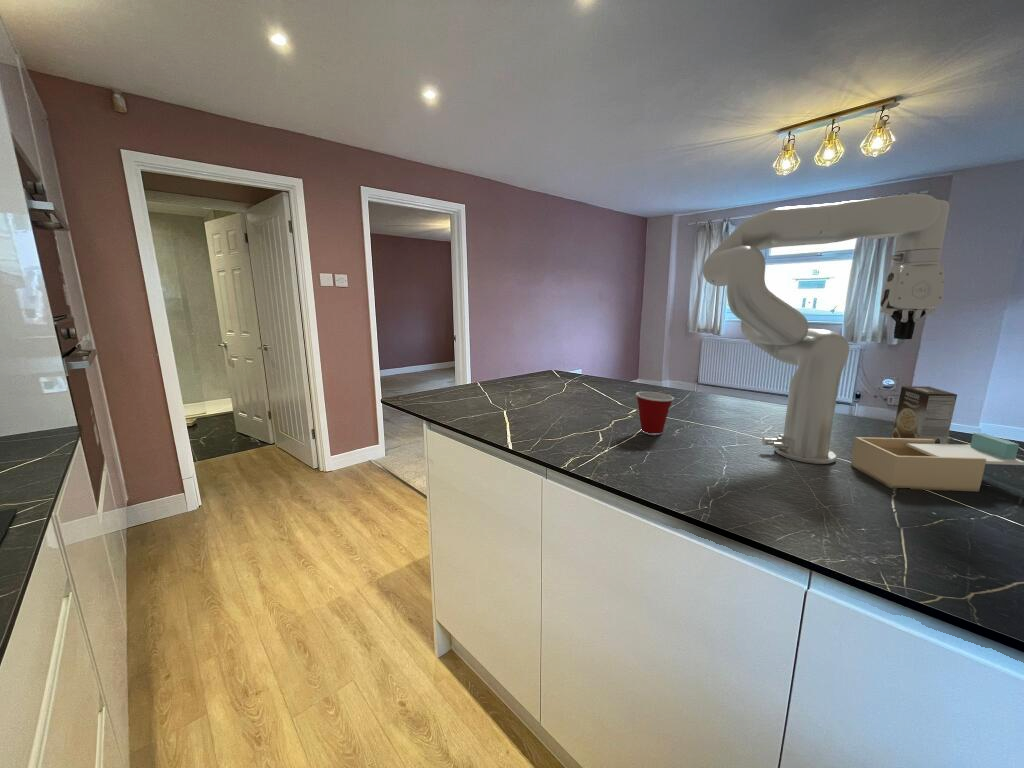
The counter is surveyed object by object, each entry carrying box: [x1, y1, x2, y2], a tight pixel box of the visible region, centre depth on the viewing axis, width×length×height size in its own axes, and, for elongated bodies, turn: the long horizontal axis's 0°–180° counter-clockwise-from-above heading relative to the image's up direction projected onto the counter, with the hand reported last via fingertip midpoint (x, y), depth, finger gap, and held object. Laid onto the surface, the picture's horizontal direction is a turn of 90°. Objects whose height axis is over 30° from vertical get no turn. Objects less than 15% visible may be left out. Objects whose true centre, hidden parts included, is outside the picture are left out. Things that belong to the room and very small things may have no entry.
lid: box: [906, 432, 1024, 466], centre depth 85 cm, size 14×10×4 cm
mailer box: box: [850, 436, 986, 492], centre depth 87 cm, size 16×12×7 cm
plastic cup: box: [635, 391, 675, 433], centre depth 119 cm, size 11×11×12 cm
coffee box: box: [891, 385, 958, 444], centre depth 102 cm, size 9×6×16 cm
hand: (902, 338), depth 96 cm, fingers closed
